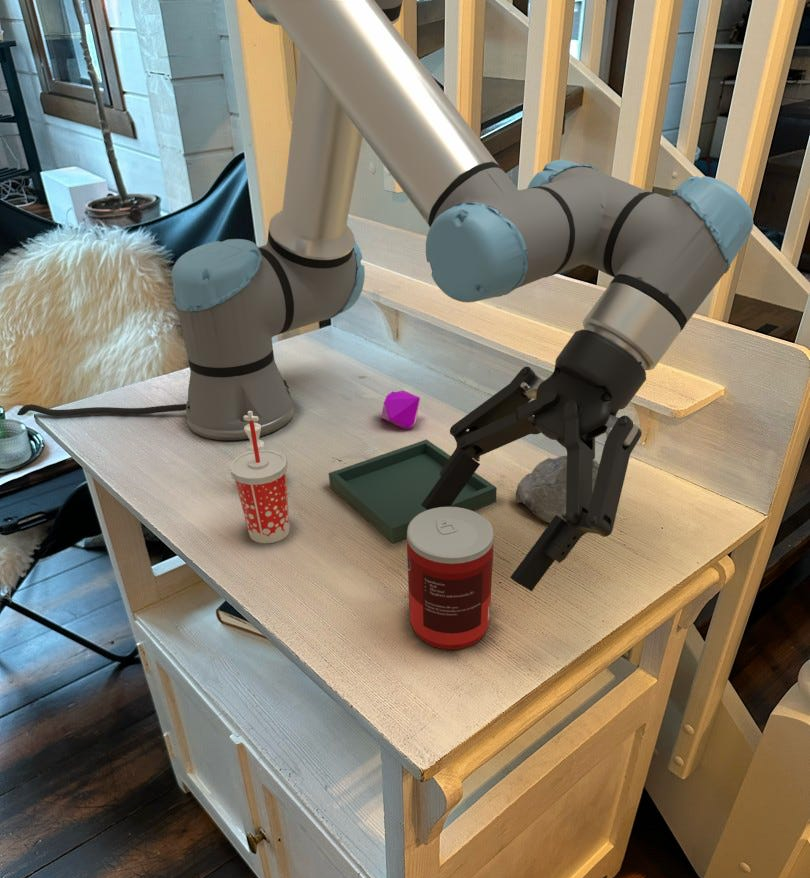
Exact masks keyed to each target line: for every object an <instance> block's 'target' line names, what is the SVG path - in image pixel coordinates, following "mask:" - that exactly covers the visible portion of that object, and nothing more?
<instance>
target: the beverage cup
mask: <svg viewBox="0 0 810 878" xmlns="http://www.w3.org/2000/svg"><path fill="white" fill-rule="evenodd" d="M249 424H250V430H251V436H252V442H253V448H254V451H252V450H250V451H246V452H243V453H242V454H239V455H237V456H236V457H235V458H233V460H232V461H230V464H229V467H228V468H229V471H230V475H231V477H232V479H233V480H234V482H235V486H236V489H237V494H238V497H239V501H240V505H241V509H242V513H243V516H244V520H245V524H246V528H247V531H248V534H249V535H248V536H249V538H250V539H251V540H252V541H254V542H255V543H259V544H274V543H277V542H281V541H282V540H283V539H285V538H286V537H287V536H288V535H289V534H290V530H291V529H290V512H289V498H288V486H287V485H288V484H287V471H288V459H287V458H286V456H285V455H284V454H283V453H282V452H279V451H277V450H272V449H260V450H258V445H257V438H256V432H255V426H254V421H253V420H250V421H249Z"/></svg>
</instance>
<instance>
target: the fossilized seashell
mask: <svg viewBox="0 0 810 878" xmlns="http://www.w3.org/2000/svg"><path fill="white" fill-rule="evenodd" d="M599 464H600V463H598V461H597V460H595V459H593V471H592V493H593V489H594V485H595V481H596V477H597V473H598V469H599ZM566 485H567V455H562V456H559V457H554V458H551V457H547V458H546V459H544V460H542V461H540V462H539V463H538V464H536V466H535V467H534V468H533V470H532V471H531V472H530V473H527V474H526V475H525V476H524V477H522V479H521V480H520V482H518V483H517V486H516V491H515V497H514V499H515V503H517V504H523V505H524V506H526V507H527V509H528V510H529V511H531V513H532V514H533V515H534V516H535V517H536V518H538V520H540V521H543V522H545V523H547V524H550V522H551V521H552V520H553V518H554V517H555V516H556V515H557V516H559V517H560V518H561V519H563V520H564V521H566V520H565V519H564V518H563V517H562V514H564V515H565V513H566ZM565 516H566V515H565Z"/></svg>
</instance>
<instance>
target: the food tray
mask: <svg viewBox="0 0 810 878" xmlns="http://www.w3.org/2000/svg"><path fill="white" fill-rule="evenodd" d="M450 457H451V455H450V454H449V453H447V452H446V451H444V450H443V449H441V448H440V447H438V445H435V444H434V443H433V442H431V441H430V440H429V439H424V440H423V439H422V440H419V441H418V442H415V443H412V444H409V445H406V446H403V447H401V448H397V449H395V450H392V451H389V452H386V453H383V454H380V455H377V456H375V457H374V456H373V457H372V458H368V459H365V460H363V461H359V462H357V463H354V464H351V465H348V466H345V467H342V468H340V469H336V470H334V471H331V472H328V479H329V487H330V489H332V490H333V491H334V492H335V493H336V494H337V495H339V496H340V497H341V498H342V499H343V500H344V501H345V502H346V503H347V504H348V505H350V506H351V507H352V508H353V509H354V510H355V511H356V512H357V513H359V514H360V515H361V516H362V517H363V518H364V519H365V520H366V521H367V522H368V523H370V524H371V525H372V526H373V527H374V528H375V529H376V530H377V531H378V532H380V533H381V534H382V535H383V536H384V537H385V538H387V540H388V541H389V542H391V543H392V544H395V543H398V542H400V541H402V540H405V539H407V530H408V526H409V524H410V522H411V521H412V519H413V518H414V517H416V516H417V515H418V514H420V513H422V512H424V511H426V510H427V509H425V508H424V507H423V506H422V505H421V504H422V503H423V501H424V500H425V499H426V497H427V496H428V494H429V493H430V492H431V490H432V489H433V487H434V486H435V484H436V483H437V482H438V480H439V479H440V477H441V476H440V472H441V469H442V468H443V467H444V465H445V464H446V462H447V461H448V459H449V458H450ZM497 491H498V489H497V486H496V485H494V484H492V483H491V482H490V481H488V480H487V479H485V478H484V477H482V476H481V475H479V474H478V473H477V472H475V473H474V474H473V475H472V477H471V478H470V480H469V481H468V482H467V484H466V485H465V487H464V488H463V489H462V491H461V492H460V494H459V495H458V496H457V498H456V499H455V501H454V502H453V503H452V505H451V506H450V507H459V508H464V509H468V510H471V511H474V512H475V511H476V510H478V509H481V508H483V507H485V506H488V505H491V504H494V503H495V502H497Z"/></svg>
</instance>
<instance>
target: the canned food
mask: <svg viewBox="0 0 810 878" xmlns="http://www.w3.org/2000/svg"><path fill="white" fill-rule="evenodd" d="M494 537H495V536H494V529H493V526H492V524H491V522H489V520H488V519H487V518H485V516H483V515H481V514H480V513H478V512H476V511H475V510H474V511H471V510H468V509H464V508H459V507H438V508H433V509H430V510H426V511H424V512H422V513H420V514H418V515H417V516H416V517H414V518H413V519H412V521H411V522H410V524H409V526H408V530H407V538H406V556H407V557H406V558H407V559H406V560H407V583H408V584H407V585H408V607H409V609H408V610H409V621H410V623H411V626H412V628H413V630H414V631H413V632H414V633H415V634H416V636H417V637H418V638H419V639H420V640H421V641H422V642H424V643H426V644H428V645H429V646H432V647H434V648H438V649H443V650H461V649H465V648H468V647H471V646H473V645H474V644H477V643H478V642H479V641H480V640H481V639H482V638H483V637H484V635H485V634H486V632H487V630H488V628H489V624H490V620H491V619H490V617H491V603H492V602H491V600H492V584H493V583H492V582H493V566H494V565H493V564H494V543H495V542H494V540H495V539H494Z"/></svg>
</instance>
